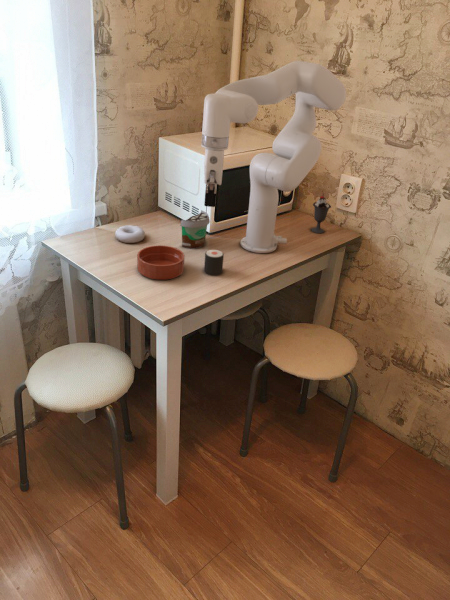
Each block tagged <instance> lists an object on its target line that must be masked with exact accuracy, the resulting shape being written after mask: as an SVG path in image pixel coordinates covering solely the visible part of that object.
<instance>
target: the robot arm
mask: <svg viewBox="0 0 450 600" xmlns="http://www.w3.org/2000/svg"><path fill="white" fill-rule="evenodd" d="M294 95H295V103H294V104H295V105H294V111H293V115H292V116H291V117H290V119H289V120H288V122H286V124H285V125H284V126H283V128H282V129H281V130H280V132H279V133H278V134H277V136H276V137H275V138H274V140H273V142H272V148H271V149H272V152H273V153H270V152H260V153H259V152H258V153H257V154H256V155H254V156H253V158H252V159H251V160H250V163H249V180H250V181H249V183H250V190H249V191H250V192H249V203H248V210H247V220H246V231H245V236H244V237H243V238H241V239H240V243H239V244H240V246H241V248H243V249H244V250H246V251H248V252H251V253H256V254H269V253H273V252H274V251H277V248H278V244H280V245H287V244H288V238H286V237H283V235H276V234H275V229H276V222H277V214H278V207H279V200H280V198H279V196H280V195H279V191H282V192H287V193H289V192H292V191H295V189H297V188H298V187H299V186H300V184H301V183H302V182H303V180H304V179H305V178H306V177H307V175H308V174H309V173H310V171H311V170H312V169H313V168H314V167H315V165H316V164H317V163H318V160H319V158H320V156H321V154H322V153H321V152H322V143H321V139H320V138H318V137H317V136H316V135H314V132H315V130H316V127H317V117H316V111H315V108H318V109H323V110H326V111H337V110H339V109H341V108H342V106H344V104H345V102H346V99H347V90H346V87H345V85H344V83H343V82H342V80H340V79H339V78H338V77H337V76H336V75H335V74H334V73H333V72H332V71H331V70H330V69H329V68H327V67H326V66H325V65H322V64H320V63H314V62H309V61H303V60H295V61H290V62H289V63H287V64H285V65H283V66H281V67H278V68H277V69H275V70H273V71H271V72H269V73H267V74H263V75H257V76H253V77H248V78H243V79H239V80H235V81H232V82H230V83H228V84H226V85H224V86H222V87H221V88H219V89H217V91H216V92H214V93H208V94H206V95H205V97H204V101H203V112H202V113H203V114H202V129H201V144H200V146H201V148H203V149H204V163H203V164H204V165H203V171H204V173H203V175H204V176H203V177H204V184H205V192H204V202H203V203H204V207H209V208H215V207H216V205H217V204H216V203H217V186H222V181H223V171H224V158H225V151H226V150H228V149H229V143H230V142H229V141H230V129H231V123H234V124H235V123H236V124H248V123H252V121H253V120H255V119H256V117H257V115H258V113H259V105H260V106H267V105H268V106H269V105H270V106H271V105H277V104H279V103H280V102H282V101H285V100H286V99H288V98H290V97H292V96H294Z"/></svg>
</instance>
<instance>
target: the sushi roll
mask: <svg viewBox="0 0 450 600" xmlns="http://www.w3.org/2000/svg"><path fill="white" fill-rule="evenodd" d="M224 254H225V253H224V252H223V251H221V250H218V249H209V250H207V251H205V253H204V267H203V272H204V273H205V274H206V275H209V276H220V275H221V274H222V273H223V268H224V256H225V255H224Z"/></svg>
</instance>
